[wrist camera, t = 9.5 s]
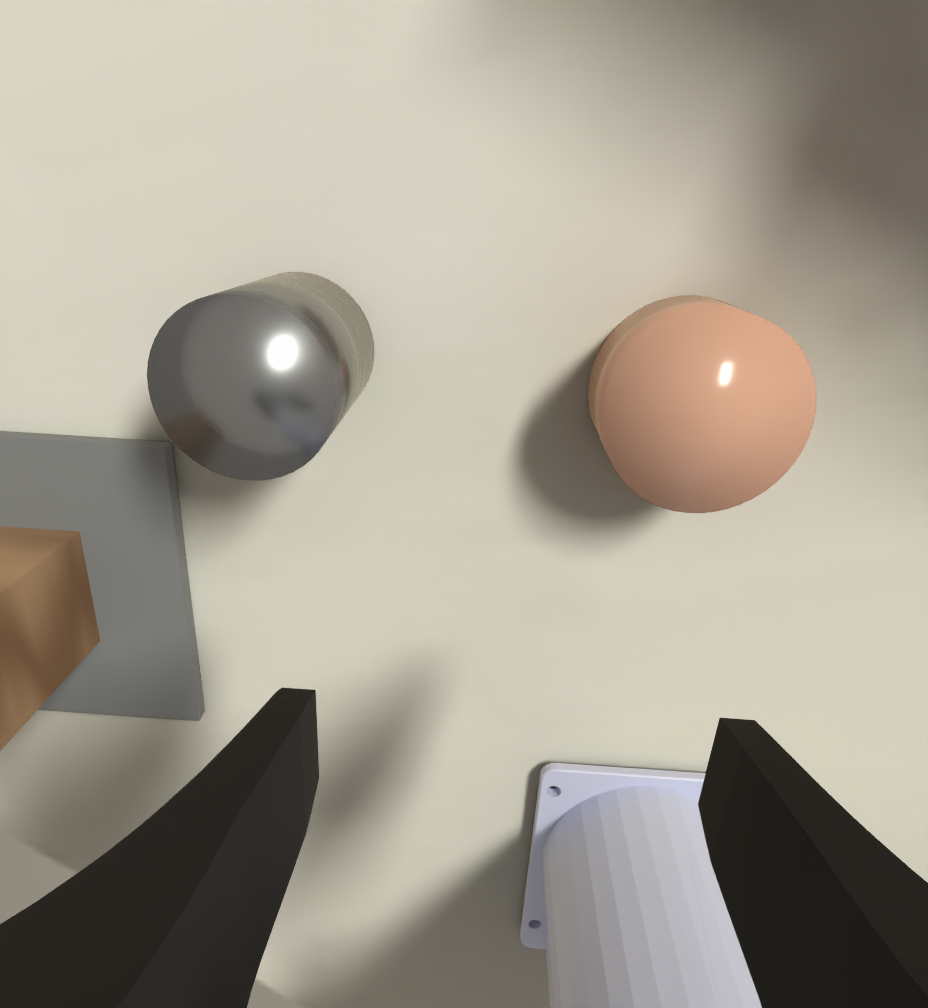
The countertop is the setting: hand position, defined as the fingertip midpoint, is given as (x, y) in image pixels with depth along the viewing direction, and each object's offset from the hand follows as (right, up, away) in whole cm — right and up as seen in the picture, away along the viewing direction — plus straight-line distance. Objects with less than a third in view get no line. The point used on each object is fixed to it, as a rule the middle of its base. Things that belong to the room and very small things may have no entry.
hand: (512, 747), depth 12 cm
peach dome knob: (+5, +8, +7) cm, 11 cm away
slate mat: (-15, +2, +10) cm, 18 cm away
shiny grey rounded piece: (-5, +9, +7) cm, 12 cm away
